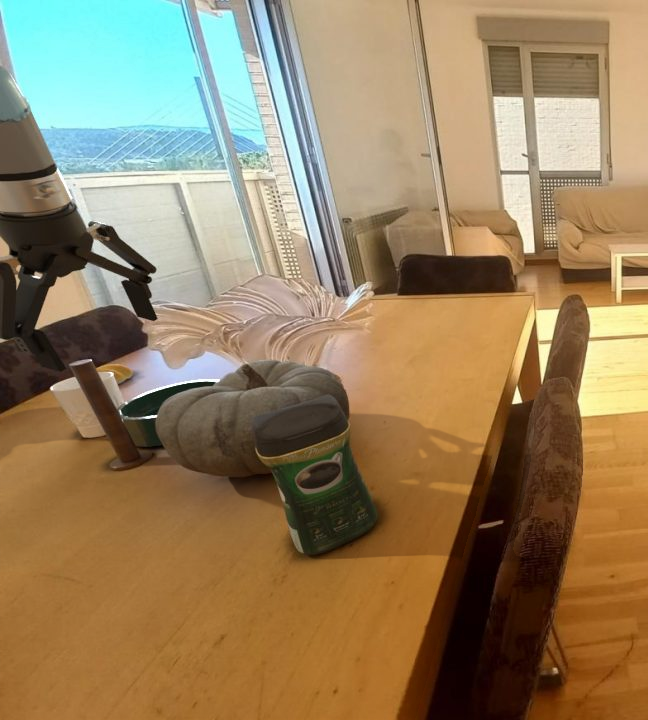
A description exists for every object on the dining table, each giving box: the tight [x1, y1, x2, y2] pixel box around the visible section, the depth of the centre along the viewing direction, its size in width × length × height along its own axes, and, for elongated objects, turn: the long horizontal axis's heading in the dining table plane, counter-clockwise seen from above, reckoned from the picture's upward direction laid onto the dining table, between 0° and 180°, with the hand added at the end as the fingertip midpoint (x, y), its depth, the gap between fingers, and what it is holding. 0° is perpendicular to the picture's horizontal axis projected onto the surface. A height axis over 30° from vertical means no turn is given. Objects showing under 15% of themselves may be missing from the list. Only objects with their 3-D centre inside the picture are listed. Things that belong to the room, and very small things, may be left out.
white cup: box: [49, 372, 126, 439], centre depth 87 cm, size 8×8×10 cm
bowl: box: [117, 378, 220, 448], centre depth 88 cm, size 16×16×6 cm
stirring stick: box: [68, 358, 153, 471], centre depth 75 cm, size 5×5×18 cm
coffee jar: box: [252, 395, 378, 556], centre depth 59 cm, size 10×8×19 cm
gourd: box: [155, 358, 351, 478], centre depth 77 cm, size 25×25×17 cm
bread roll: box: [96, 363, 134, 386], centre depth 107 cm, size 8×9×4 cm
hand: (104, 341), depth 71 cm, fingers open, 13 cm apart
